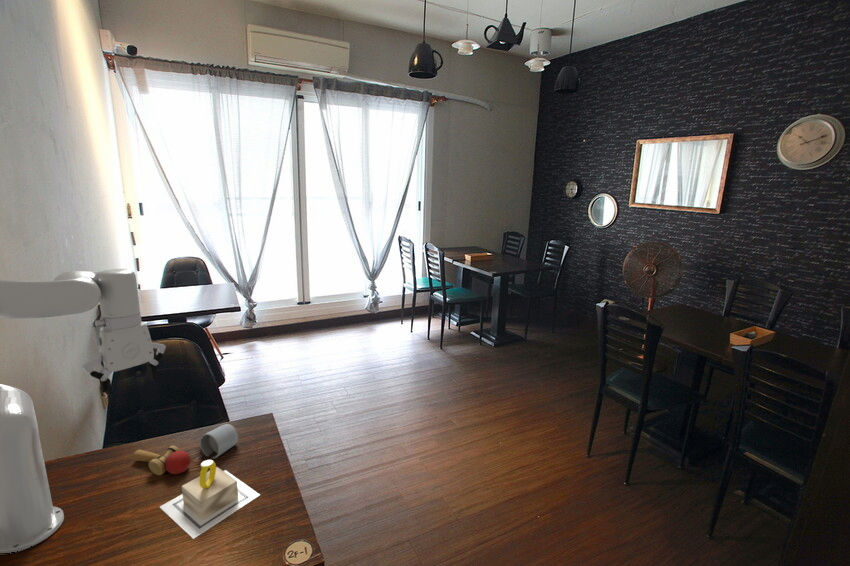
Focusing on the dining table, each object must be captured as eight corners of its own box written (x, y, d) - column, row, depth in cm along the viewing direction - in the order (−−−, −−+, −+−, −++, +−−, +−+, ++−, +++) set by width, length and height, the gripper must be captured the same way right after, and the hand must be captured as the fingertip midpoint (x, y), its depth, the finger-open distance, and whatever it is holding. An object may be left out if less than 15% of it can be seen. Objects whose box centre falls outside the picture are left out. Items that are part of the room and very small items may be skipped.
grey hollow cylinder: (241, 446, 126) (239, 423, 124) (219, 461, 119) (217, 438, 117) (215, 438, 130) (213, 416, 128) (192, 452, 122) (190, 429, 121)
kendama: (124, 474, 114) (173, 481, 109) (122, 451, 114) (172, 457, 109) (150, 461, 122) (198, 468, 116) (149, 440, 122) (197, 445, 116)
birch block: (202, 520, 98) (201, 502, 96) (183, 503, 102) (181, 486, 101) (238, 497, 105) (236, 481, 104) (218, 483, 110) (217, 466, 109)
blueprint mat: (193, 540, 92) (193, 538, 92) (159, 508, 101) (159, 506, 101) (260, 496, 106) (260, 494, 106) (225, 471, 115) (225, 469, 115)
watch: (208, 477, 105) (207, 455, 104) (219, 476, 105) (218, 455, 104) (196, 492, 99) (195, 469, 98) (208, 492, 99) (207, 469, 99)
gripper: (83, 333, 90) (94, 405, 93) (168, 315, 104) (175, 378, 107) (71, 326, 94) (82, 395, 97) (154, 309, 108) (161, 370, 111)
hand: (130, 386), depth 102 cm, fingers open, 9 cm apart
